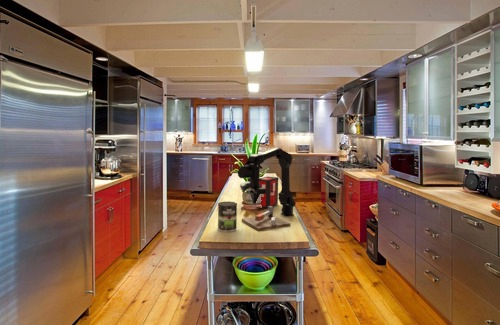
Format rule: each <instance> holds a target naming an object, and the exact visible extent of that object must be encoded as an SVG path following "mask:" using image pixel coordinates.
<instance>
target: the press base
mask: <svg viewBox="0 0 500 325" xmlns="http://www.w3.org/2000/svg"><path fill="white" fill-rule="evenodd" d="M273 217H275V226H274V225H271V219H272V217H268V216H266V217H264V219H263V220H261V221H255V216H251V217H245V218H244V217H243V218H241V222H242V223H244V224H246V225H248V226H249V227H250V228H253V229H254V230H256V231H258V232H259V231H264V230H265V231H266V230H272V229H279V228H285V227H291V224H292V223H290V222H289V221H287V220H285V219H282V218H280V217H278V216H276V215H274V214H273Z"/></svg>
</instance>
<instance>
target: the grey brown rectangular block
mask: <svg viewBox="0 0 500 325" xmlns="http://www.w3.org/2000/svg"><path fill="white" fill-rule="evenodd" d="M271 225H274V226H275V217H272V219H271Z"/></svg>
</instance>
